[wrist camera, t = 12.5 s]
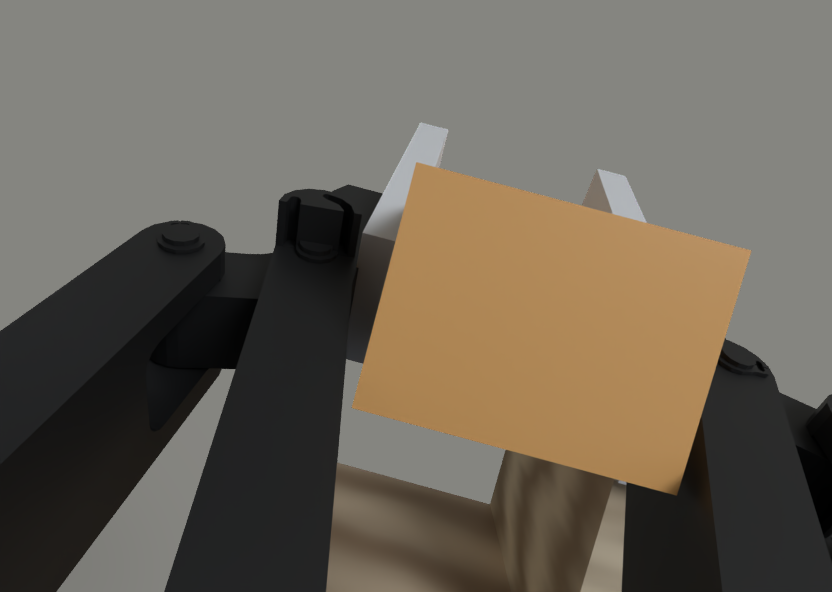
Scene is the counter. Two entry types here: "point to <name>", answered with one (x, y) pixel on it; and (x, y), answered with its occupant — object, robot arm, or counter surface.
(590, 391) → the orange box
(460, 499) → the wooden stepped block
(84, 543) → the robot arm
